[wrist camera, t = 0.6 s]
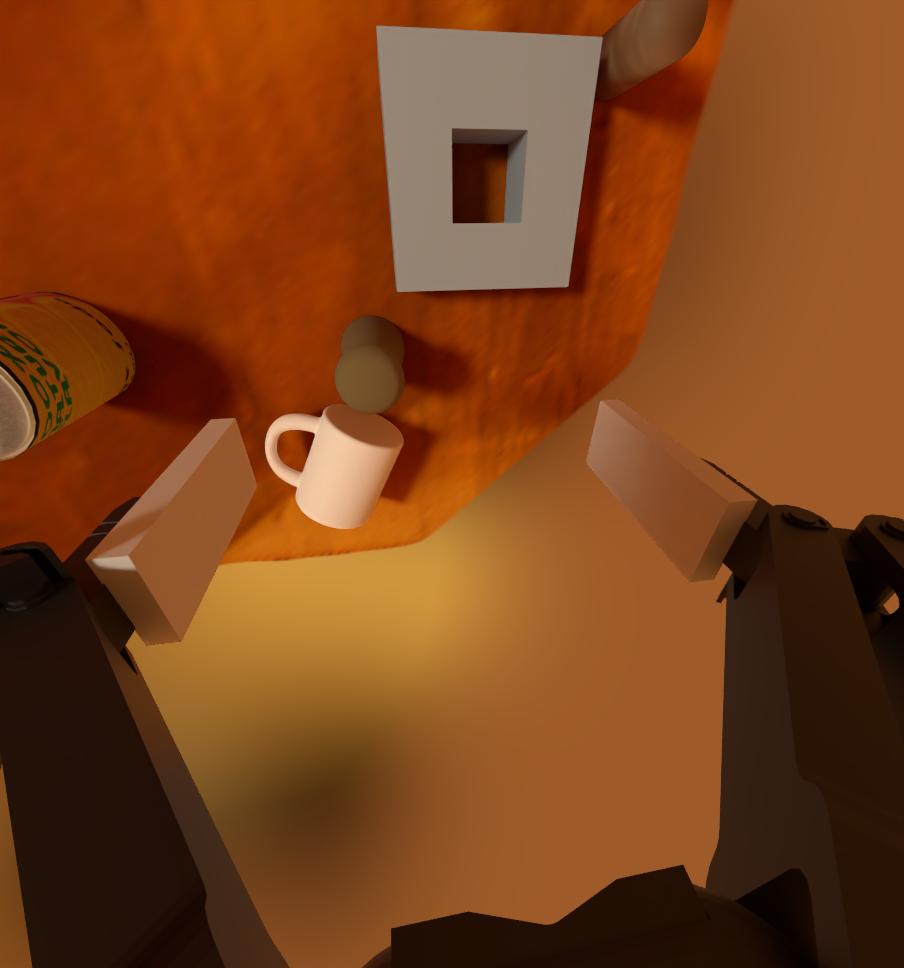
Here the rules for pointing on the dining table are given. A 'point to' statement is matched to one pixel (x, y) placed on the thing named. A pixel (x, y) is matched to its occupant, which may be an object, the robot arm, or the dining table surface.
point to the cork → (371, 365)
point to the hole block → (485, 120)
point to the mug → (339, 463)
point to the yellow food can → (55, 366)
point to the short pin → (647, 43)
